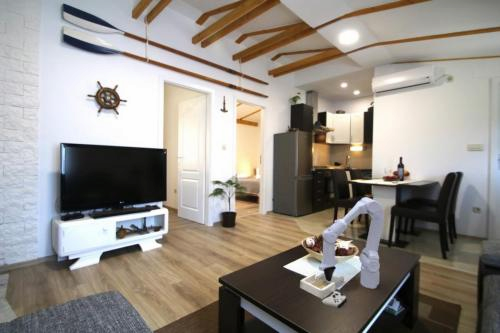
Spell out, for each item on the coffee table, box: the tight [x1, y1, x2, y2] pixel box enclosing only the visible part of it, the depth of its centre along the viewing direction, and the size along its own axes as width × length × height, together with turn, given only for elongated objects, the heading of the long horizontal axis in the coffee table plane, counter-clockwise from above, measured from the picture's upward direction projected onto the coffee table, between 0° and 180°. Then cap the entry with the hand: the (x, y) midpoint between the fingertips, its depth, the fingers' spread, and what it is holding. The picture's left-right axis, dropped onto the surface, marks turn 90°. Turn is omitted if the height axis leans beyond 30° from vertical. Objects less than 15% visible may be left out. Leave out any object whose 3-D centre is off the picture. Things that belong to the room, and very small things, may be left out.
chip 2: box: [316, 279, 327, 288], centre depth 112 cm, size 4×4×2 cm
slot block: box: [315, 272, 347, 291], centre depth 118 cm, size 11×12×3 cm
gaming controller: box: [321, 290, 348, 309], centre depth 101 cm, size 11×6×7 cm
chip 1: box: [312, 281, 323, 289], centre depth 110 cm, size 4×4×2 cm
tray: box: [299, 273, 336, 300], centre depth 110 cm, size 11×12×4 cm
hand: (328, 280), depth 117 cm, fingers closed
